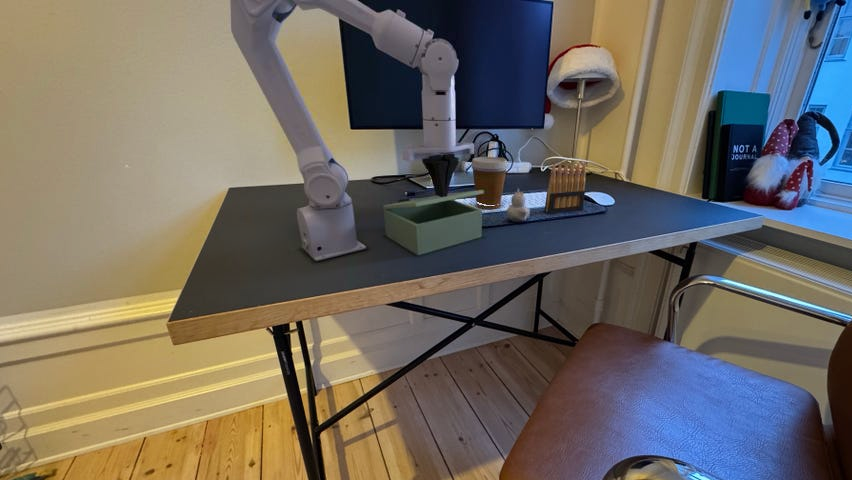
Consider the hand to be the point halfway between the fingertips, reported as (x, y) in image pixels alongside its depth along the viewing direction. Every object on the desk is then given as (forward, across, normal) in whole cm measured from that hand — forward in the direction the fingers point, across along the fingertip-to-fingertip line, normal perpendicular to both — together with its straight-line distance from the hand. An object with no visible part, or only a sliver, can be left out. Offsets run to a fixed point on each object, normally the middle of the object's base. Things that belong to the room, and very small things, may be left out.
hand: (441, 195), depth 71 cm
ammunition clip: (+10, -37, +2) cm, 38 cm away
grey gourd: (+10, -21, +1) cm, 23 cm away
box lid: (+2, 0, -3) cm, 3 cm away
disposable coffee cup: (+10, -24, -13) cm, 29 cm away
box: (+9, 0, -3) cm, 10 cm away
